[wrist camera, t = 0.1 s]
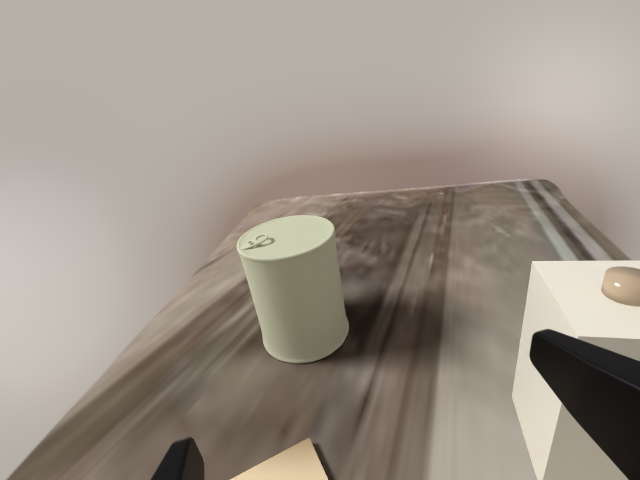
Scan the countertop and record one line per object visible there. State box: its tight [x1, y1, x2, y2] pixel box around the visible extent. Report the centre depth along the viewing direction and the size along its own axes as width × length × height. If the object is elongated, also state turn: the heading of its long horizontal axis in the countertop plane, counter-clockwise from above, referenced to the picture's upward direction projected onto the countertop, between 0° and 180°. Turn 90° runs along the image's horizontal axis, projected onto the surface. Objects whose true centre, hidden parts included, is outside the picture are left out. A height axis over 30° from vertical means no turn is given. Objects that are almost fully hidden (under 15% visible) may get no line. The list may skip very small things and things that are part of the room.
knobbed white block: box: [512, 261, 640, 480], centre depth 19 cm, size 6×6×13 cm
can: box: [237, 215, 349, 364], centre depth 33 cm, size 9×9×12 cm
